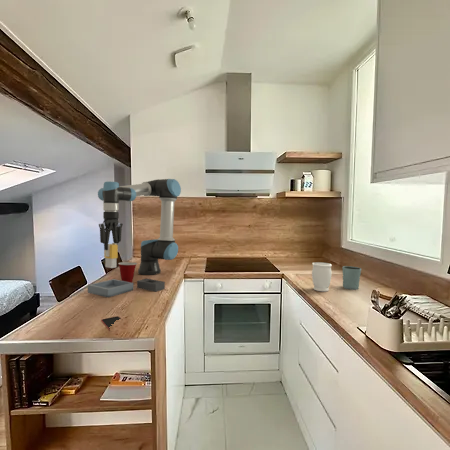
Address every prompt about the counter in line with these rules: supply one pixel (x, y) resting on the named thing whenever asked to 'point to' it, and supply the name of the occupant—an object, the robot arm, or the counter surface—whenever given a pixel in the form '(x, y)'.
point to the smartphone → (110, 321)
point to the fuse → (111, 256)
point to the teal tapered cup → (351, 277)
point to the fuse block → (151, 285)
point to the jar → (321, 276)
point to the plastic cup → (127, 271)
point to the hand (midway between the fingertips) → (110, 255)
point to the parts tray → (110, 288)
